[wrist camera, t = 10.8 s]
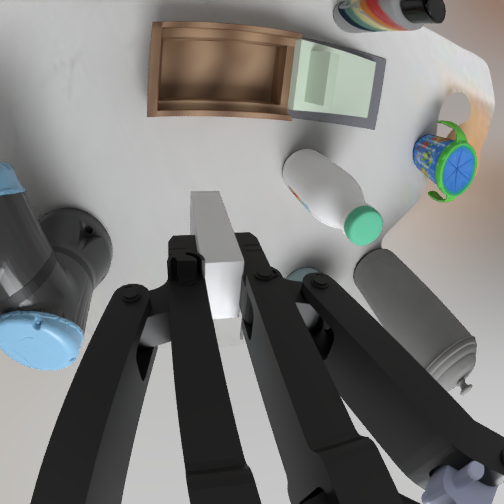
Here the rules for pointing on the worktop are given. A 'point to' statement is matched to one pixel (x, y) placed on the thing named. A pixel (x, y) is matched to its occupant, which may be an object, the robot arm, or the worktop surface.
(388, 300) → the canister
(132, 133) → the worktop surface
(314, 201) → the milk bottle
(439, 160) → the snack cup
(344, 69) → the lid
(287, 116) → the walnut box
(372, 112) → the mat
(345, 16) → the lotion bottle
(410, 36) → the worktop surface
